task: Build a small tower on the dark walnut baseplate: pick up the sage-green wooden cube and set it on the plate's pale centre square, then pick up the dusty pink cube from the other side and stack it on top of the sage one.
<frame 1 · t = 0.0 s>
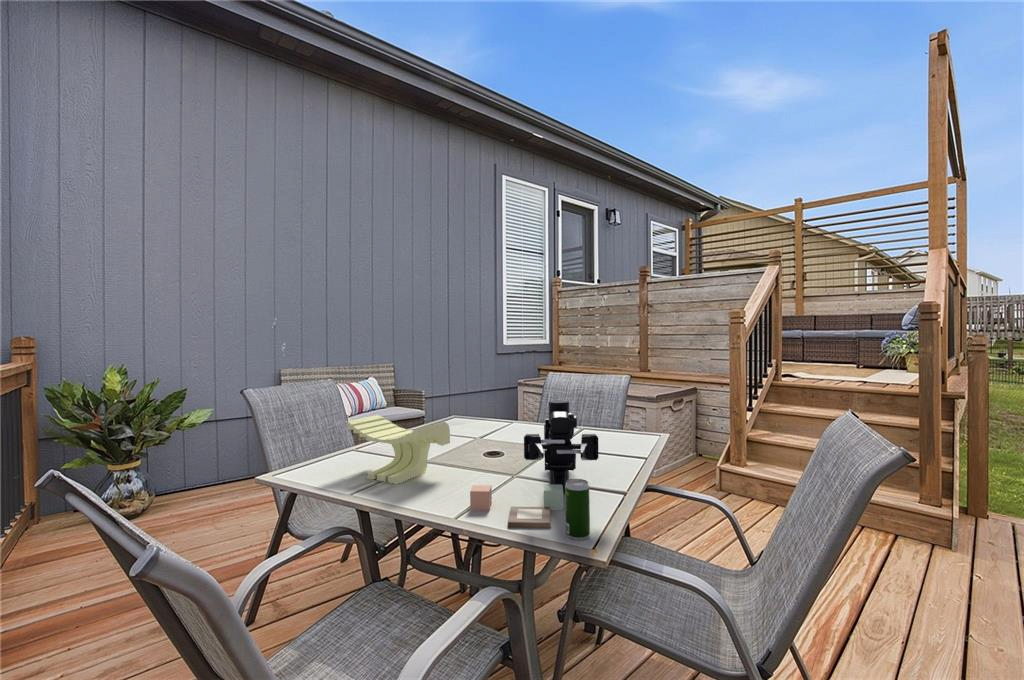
hand: (562, 455, 108), 17 cm above the table, tool horizontal, fingers open, 9 cm apart
tower base: (529, 519, 112), on the table
dusty pink cube: (481, 507, 121), on the table
beer can: (577, 536, 102), on the table
brick sage: (553, 506, 121), on the table
slatted curved stool: (399, 475, 151), on the table
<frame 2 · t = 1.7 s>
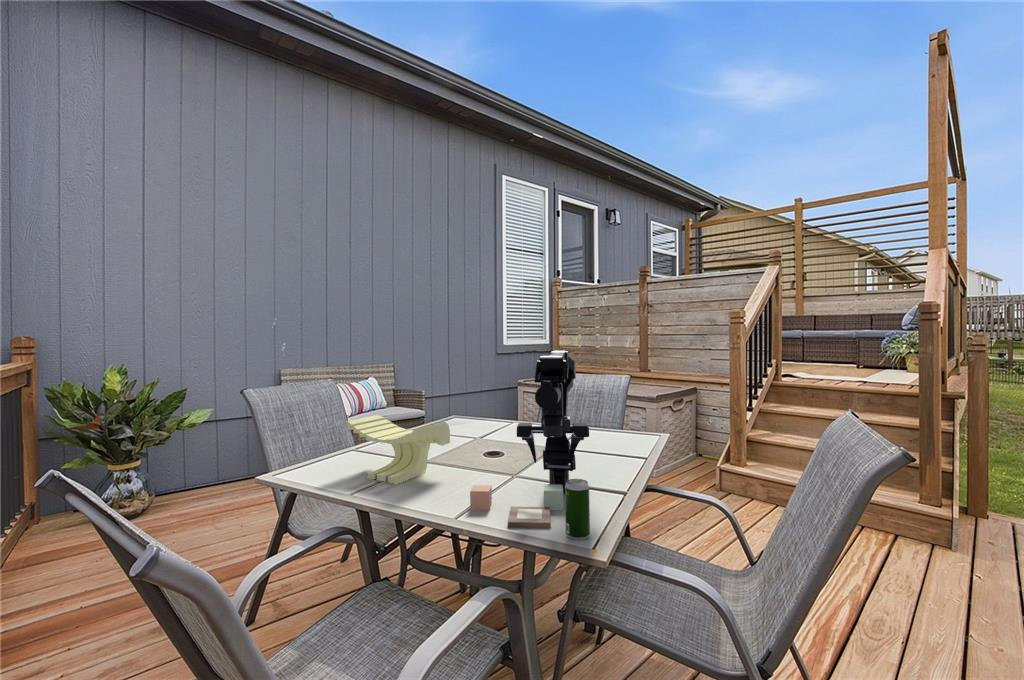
hand: (552, 462, 121), 11 cm above the table, tool pointing down, fingers open, 9 cm apart
nothing on the table moved.
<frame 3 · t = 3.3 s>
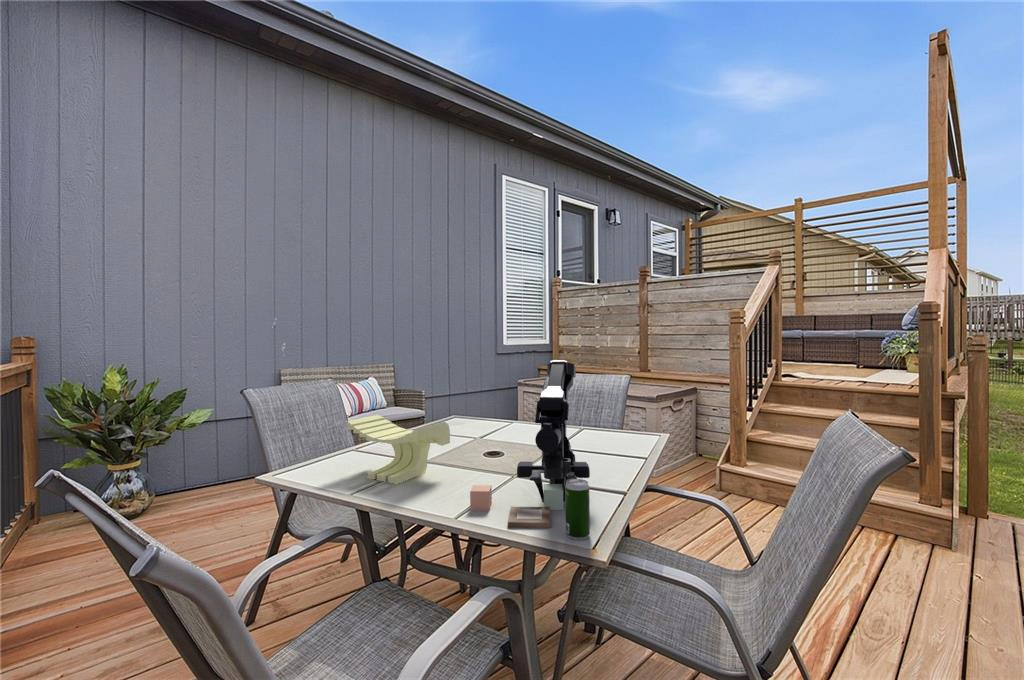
hand: (553, 502, 121), 1 cm above the table, tool pointing down, fingers closed on brick sage, 5 cm apart
brick sage: (553, 506, 121), on the table, touching gripper
everything else where it was.
when the fingers open (3 cm above the table, at t = 7.0 s): brick sage stays where it is, resting on tower base.
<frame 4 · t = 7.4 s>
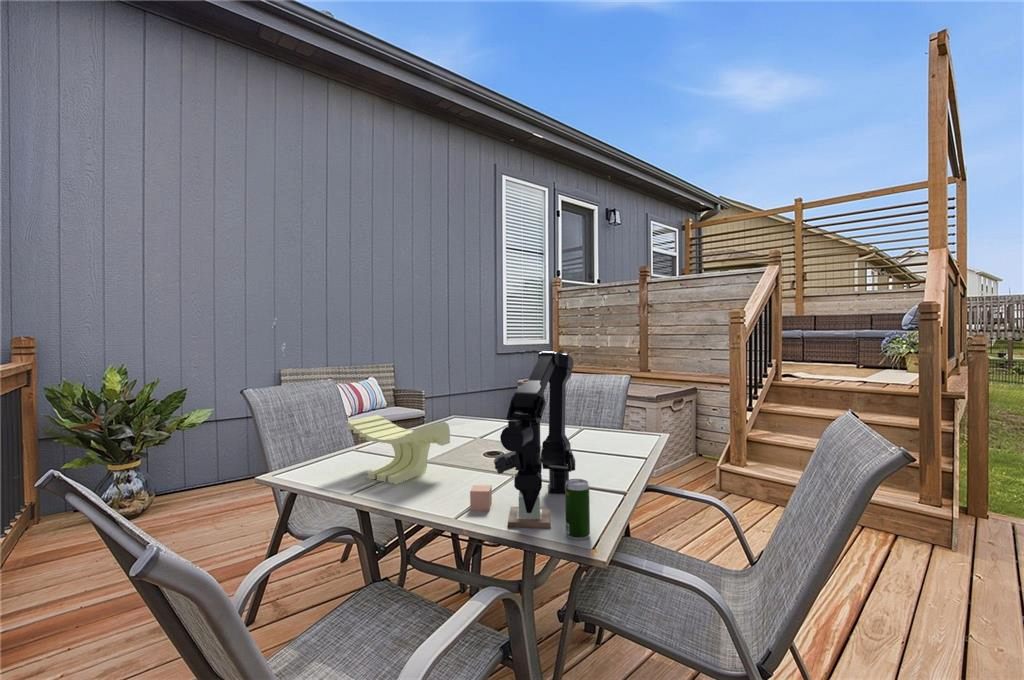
hand: (529, 505, 112), 3 cm above the table, tool pointing down, fingers open, 9 cm apart
brick sage: (529, 513, 112), point 1 cm above the table, touching tower base
everything else where it was.
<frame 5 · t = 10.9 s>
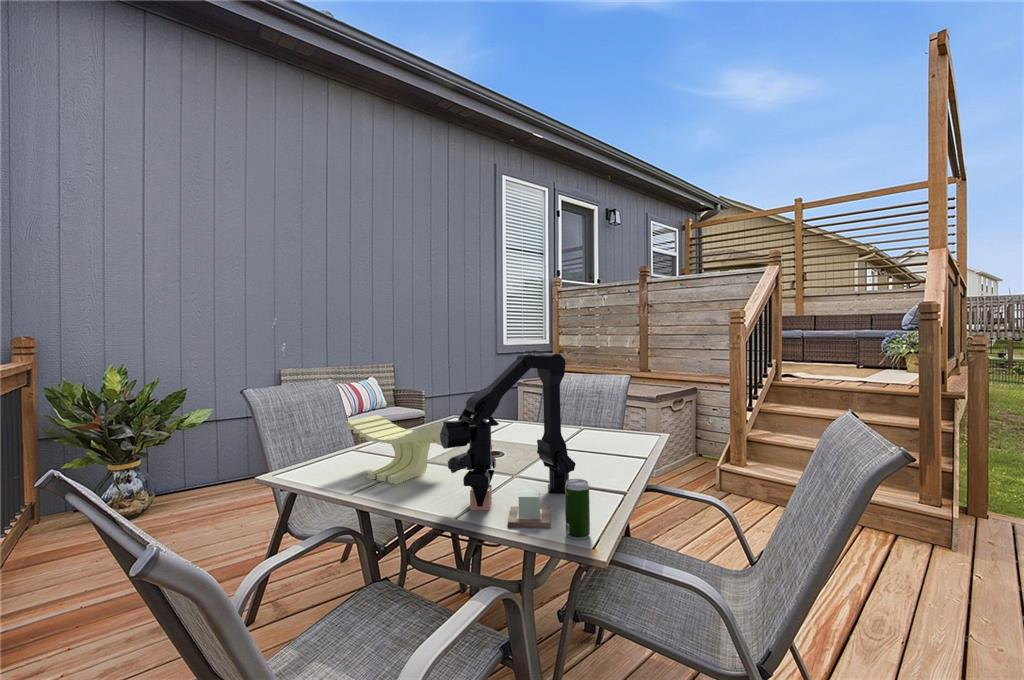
hand: (481, 502, 121), 1 cm above the table, tool pointing down, fingers closed on dusty pink cube, 5 cm apart
dusty pink cube: (481, 506, 121), on the table, touching gripper
everything else where it was.
when the fingers open (8 cm above the table, at t = 14.4 s): dusty pink cube stays where it is, resting on brick sage.
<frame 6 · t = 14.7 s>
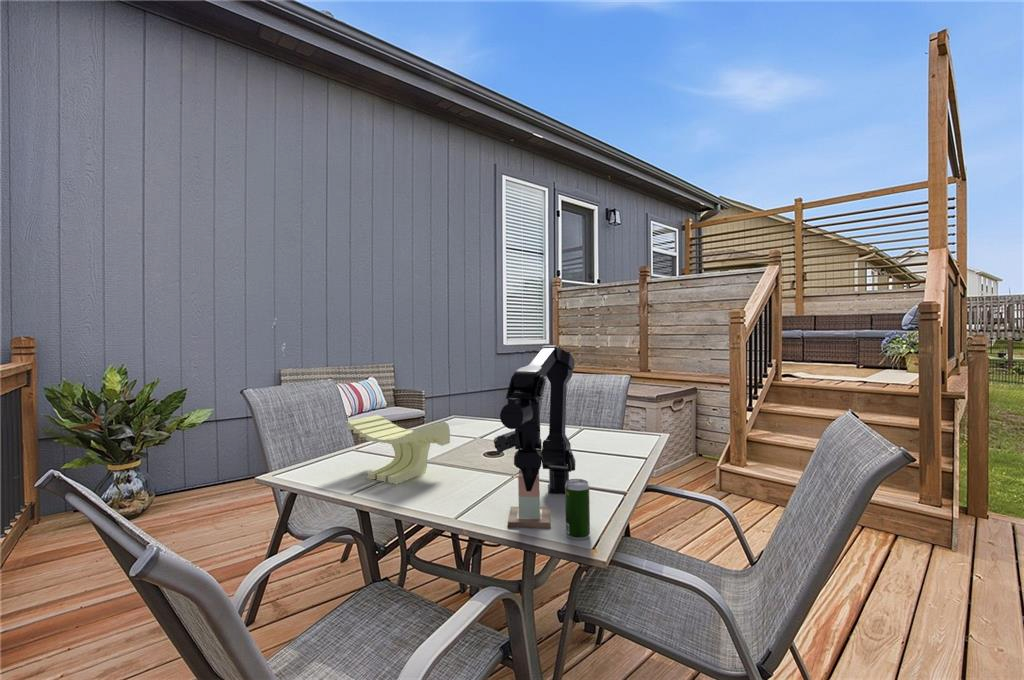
hand: (529, 485, 112), 8 cm above the table, tool pointing down, fingers open, 8 cm apart
dusty pink cube: (529, 493, 112), point 6 cm above the table, touching brick sage
brick sage: (529, 513, 112), point 1 cm above the table, touching dusty pink cube, tower base
everything else where it was.
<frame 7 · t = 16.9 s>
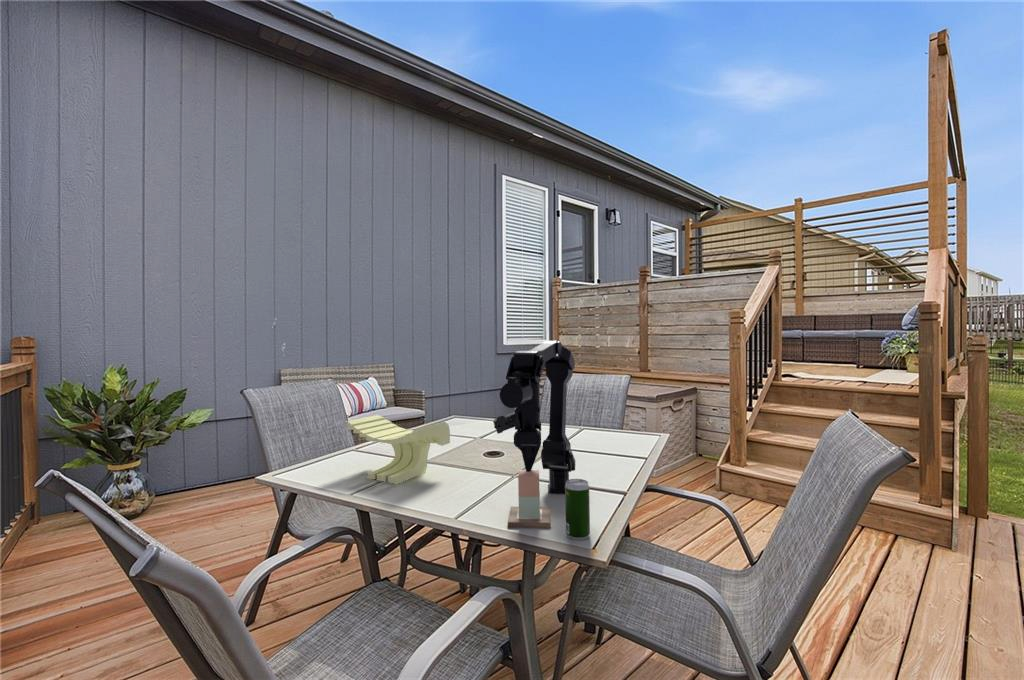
hand: (528, 466, 112), 13 cm above the table, tool pointing down, fingers open, 9 cm apart
nothing on the table moved.
at the end: brick sage 0.0 cm off-centre on the tower base, point 1.3 cm above the tower base's base; dusty pink cube 0.0 cm off-centre on the brick sage, point 5.0 cm above the brick sage's base; dusty pink cube tilted 0° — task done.
